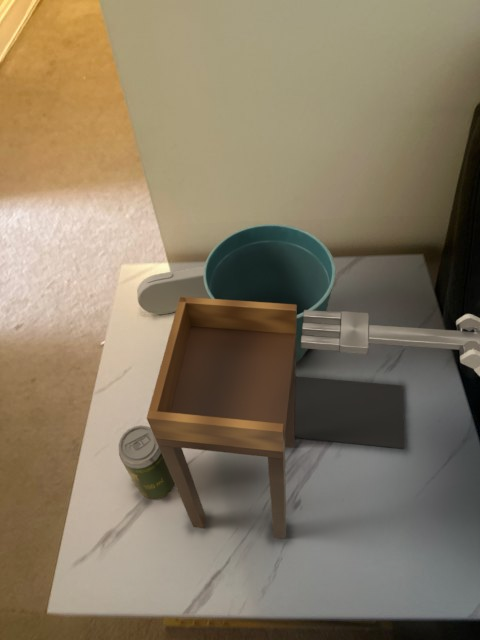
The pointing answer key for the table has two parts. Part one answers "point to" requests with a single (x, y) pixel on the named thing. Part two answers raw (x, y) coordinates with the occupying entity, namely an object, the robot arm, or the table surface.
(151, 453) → the beer can
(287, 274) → the flower pot
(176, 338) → the stand
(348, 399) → the mat
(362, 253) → the table surface
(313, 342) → the fork
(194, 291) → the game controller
